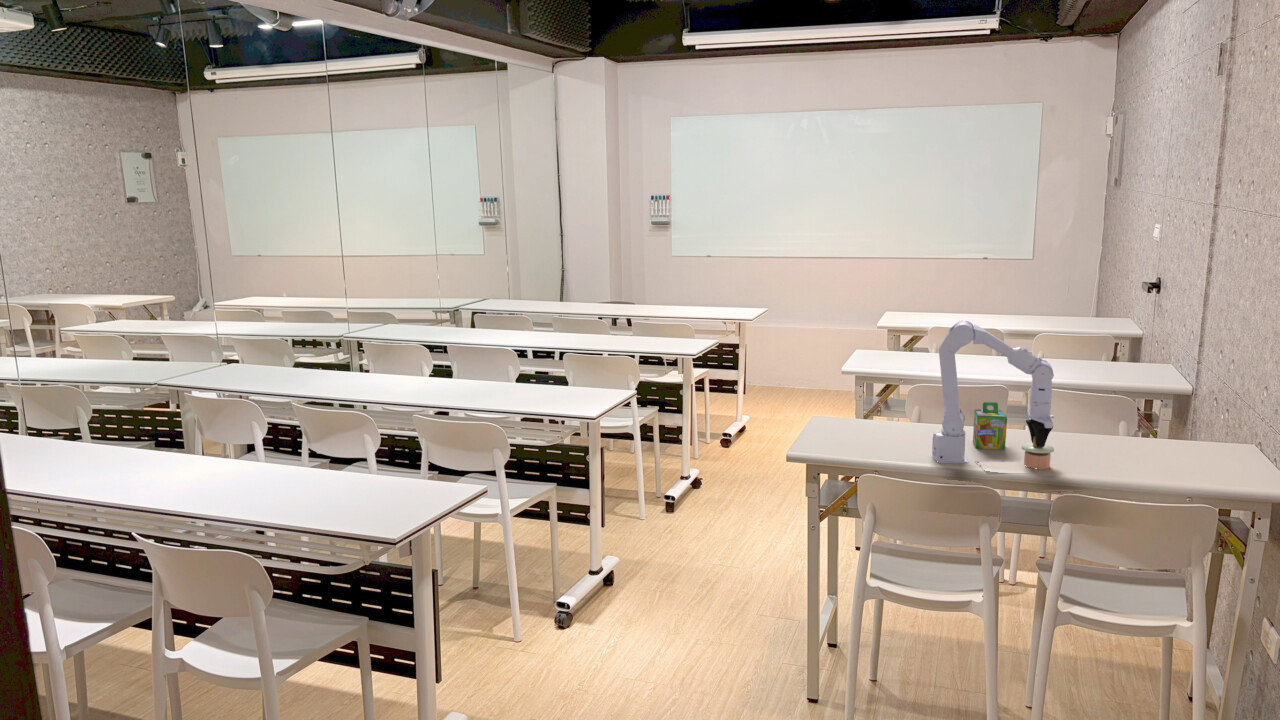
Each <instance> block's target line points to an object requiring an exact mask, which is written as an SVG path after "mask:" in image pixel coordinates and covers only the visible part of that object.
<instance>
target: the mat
mask: <svg viewBox="0 0 1280 720" xmlns="http://www.w3.org/2000/svg"><path fill="white" fill-rule="evenodd" d="M976 462H977V463H979V461H976ZM977 463H976V464H977ZM983 471H984V472H985V473H986V474H987V475H1007V474H1006V473H1005V474H1004V473H998V472H990V471H985V470H983Z"/></svg>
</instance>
